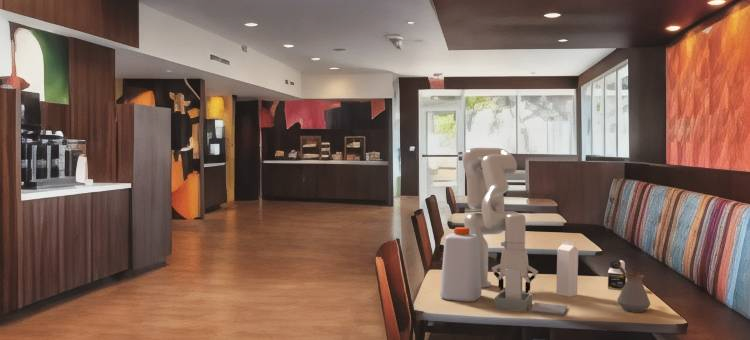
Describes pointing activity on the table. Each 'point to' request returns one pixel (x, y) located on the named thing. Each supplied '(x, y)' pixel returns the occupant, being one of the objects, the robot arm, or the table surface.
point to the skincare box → (513, 284)
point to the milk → (567, 269)
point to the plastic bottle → (461, 267)
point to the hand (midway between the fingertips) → (514, 291)
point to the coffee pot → (633, 293)
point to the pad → (548, 309)
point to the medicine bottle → (616, 275)
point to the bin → (513, 302)
